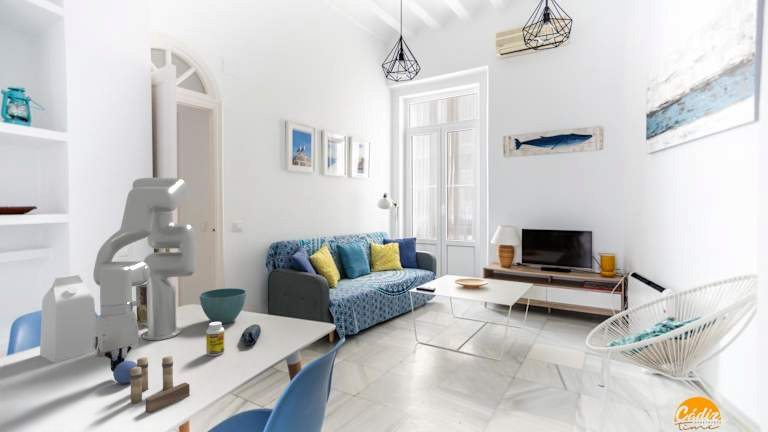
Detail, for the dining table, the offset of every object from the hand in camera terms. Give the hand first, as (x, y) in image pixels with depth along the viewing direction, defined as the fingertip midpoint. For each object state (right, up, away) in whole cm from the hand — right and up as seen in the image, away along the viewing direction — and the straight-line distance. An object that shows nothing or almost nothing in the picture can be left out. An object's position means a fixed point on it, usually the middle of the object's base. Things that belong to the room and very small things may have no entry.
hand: (117, 371), depth 111 cm
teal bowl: (+9, 0, +53) cm, 54 cm away
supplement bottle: (+20, -2, +19) cm, 27 cm away
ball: (+4, +1, -3) cm, 5 cm away
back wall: (+22, -3, -13) cm, 26 cm away
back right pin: (+14, -3, -13) cm, 19 cm away
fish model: (+27, -1, +34) cm, 43 cm away
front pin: (+12, -2, -7) cm, 13 cm away
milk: (-29, -1, +19) cm, 35 cm away
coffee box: (-20, 0, +50) cm, 54 cm away
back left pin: (+18, -2, -6) cm, 19 cm away
